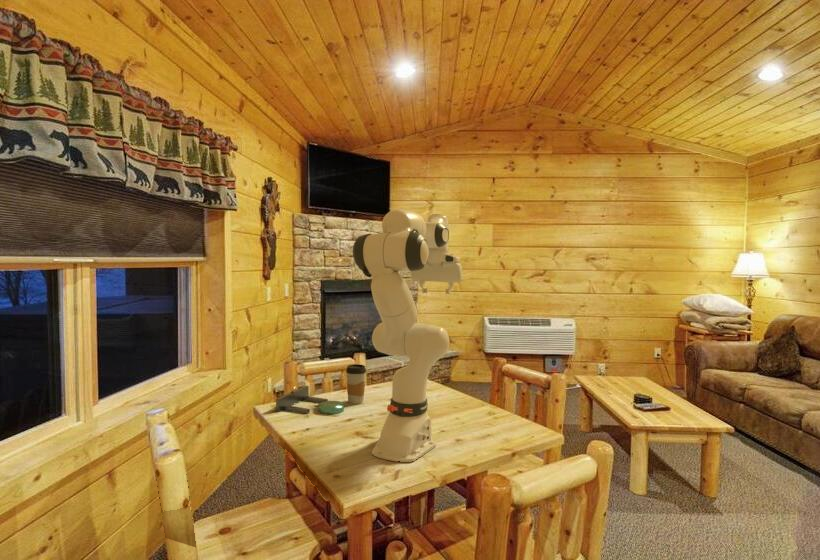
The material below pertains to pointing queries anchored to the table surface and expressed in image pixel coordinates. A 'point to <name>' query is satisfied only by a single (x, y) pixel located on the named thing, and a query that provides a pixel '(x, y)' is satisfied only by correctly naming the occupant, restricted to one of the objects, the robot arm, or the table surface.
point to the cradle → (296, 400)
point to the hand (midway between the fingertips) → (436, 293)
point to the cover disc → (330, 407)
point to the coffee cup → (355, 383)
